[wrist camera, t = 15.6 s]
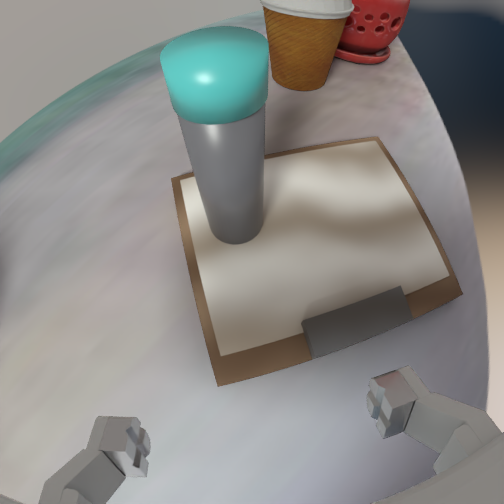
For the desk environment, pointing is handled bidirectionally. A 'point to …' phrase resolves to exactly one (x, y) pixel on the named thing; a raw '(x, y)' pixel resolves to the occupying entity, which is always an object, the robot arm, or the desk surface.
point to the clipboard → (313, 260)
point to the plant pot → (371, 30)
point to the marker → (223, 122)
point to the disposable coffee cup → (304, 39)
